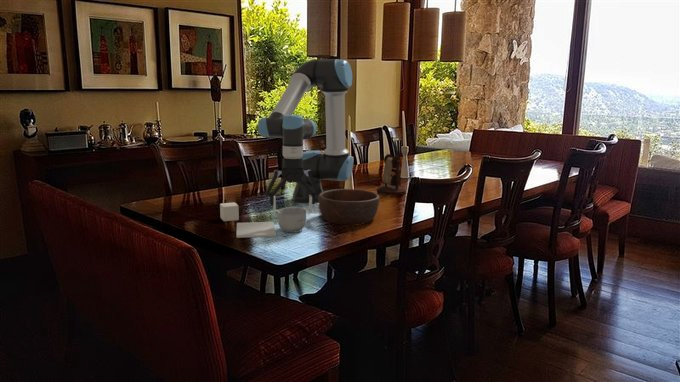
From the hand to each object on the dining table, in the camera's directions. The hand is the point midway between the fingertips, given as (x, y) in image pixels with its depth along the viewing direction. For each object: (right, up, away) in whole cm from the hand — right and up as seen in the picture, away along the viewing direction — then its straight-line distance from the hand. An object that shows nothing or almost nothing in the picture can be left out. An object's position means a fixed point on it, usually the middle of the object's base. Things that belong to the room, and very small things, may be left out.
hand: (292, 213), depth 195 cm
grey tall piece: (+44, +7, +66) cm, 79 cm away
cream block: (-27, -3, +15) cm, 31 cm away
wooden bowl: (+21, -3, +18) cm, 28 cm away
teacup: (0, -6, +2) cm, 7 cm away
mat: (-14, -6, -1) cm, 15 cm away
